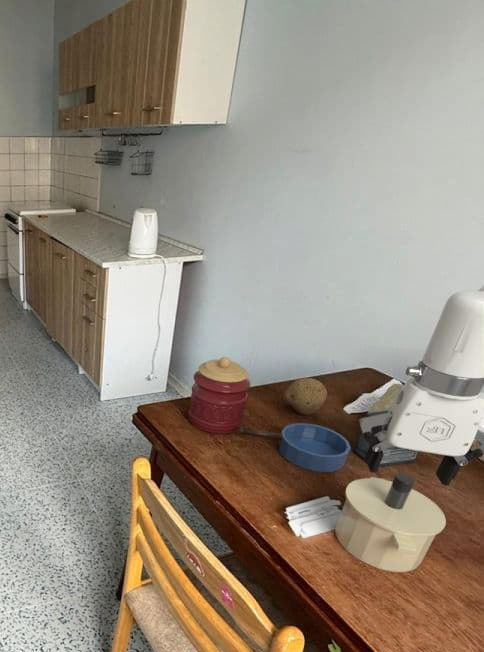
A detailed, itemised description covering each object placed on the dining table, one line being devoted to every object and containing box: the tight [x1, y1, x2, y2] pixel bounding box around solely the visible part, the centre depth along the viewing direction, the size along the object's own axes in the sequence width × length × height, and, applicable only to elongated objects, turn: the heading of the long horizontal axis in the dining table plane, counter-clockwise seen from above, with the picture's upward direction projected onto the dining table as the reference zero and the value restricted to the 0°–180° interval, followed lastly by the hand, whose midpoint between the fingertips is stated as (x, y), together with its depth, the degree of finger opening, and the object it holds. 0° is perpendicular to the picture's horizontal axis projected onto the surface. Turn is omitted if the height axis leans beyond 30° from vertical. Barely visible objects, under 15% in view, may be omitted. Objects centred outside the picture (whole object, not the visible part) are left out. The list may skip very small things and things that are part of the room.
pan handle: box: [237, 426, 282, 441], centre depth 109 cm, size 10×2×2 cm, turn 70°
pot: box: [334, 476, 436, 573], centre depth 81 cm, size 13×18×8 cm
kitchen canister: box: [187, 356, 251, 435], centre depth 116 cm, size 13×13×18 cm
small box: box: [352, 410, 420, 467], centre depth 103 cm, size 11×6×10 cm, turn 100°
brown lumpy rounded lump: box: [284, 377, 328, 416], centre depth 120 cm, size 9×9×10 cm
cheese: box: [367, 382, 405, 413], centre depth 115 cm, size 15×7×15 cm
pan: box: [277, 422, 352, 473], centre depth 106 cm, size 13×13×4 cm
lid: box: [344, 472, 447, 537], centre depth 78 cm, size 14×14×7 cm
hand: (405, 473), depth 76 cm, fingers open, 9 cm apart
